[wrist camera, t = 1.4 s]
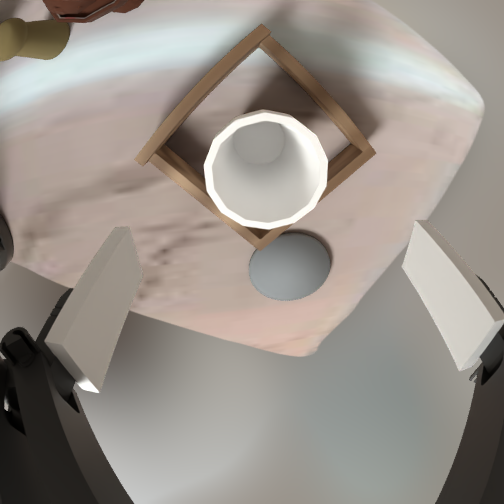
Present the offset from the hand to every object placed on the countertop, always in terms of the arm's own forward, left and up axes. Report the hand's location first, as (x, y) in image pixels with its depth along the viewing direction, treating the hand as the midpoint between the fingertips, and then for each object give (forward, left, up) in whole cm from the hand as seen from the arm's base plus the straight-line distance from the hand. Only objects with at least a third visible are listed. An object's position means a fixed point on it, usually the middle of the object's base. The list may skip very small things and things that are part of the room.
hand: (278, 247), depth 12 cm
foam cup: (0, 0, -23) cm, 23 cm away
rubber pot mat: (+17, -10, -23) cm, 30 cm away
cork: (-31, -6, -23) cm, 39 cm away
